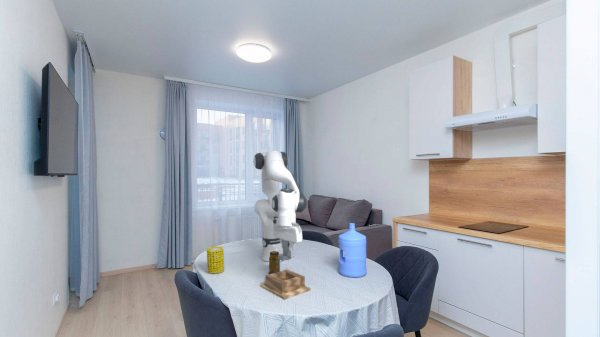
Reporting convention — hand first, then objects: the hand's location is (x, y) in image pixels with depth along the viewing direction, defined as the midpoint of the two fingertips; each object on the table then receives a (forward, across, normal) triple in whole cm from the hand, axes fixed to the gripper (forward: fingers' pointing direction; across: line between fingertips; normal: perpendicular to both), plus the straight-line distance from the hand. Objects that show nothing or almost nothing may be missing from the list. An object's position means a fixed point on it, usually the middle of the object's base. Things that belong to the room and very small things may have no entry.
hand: (287, 249), depth 145 cm
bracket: (+5, 0, +2) cm, 5 cm away
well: (+19, 0, +1) cm, 19 cm away
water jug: (+19, -8, -41) cm, 46 cm away
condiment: (+19, +20, -7) cm, 29 cm away
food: (+19, +45, +17) cm, 52 cm away
